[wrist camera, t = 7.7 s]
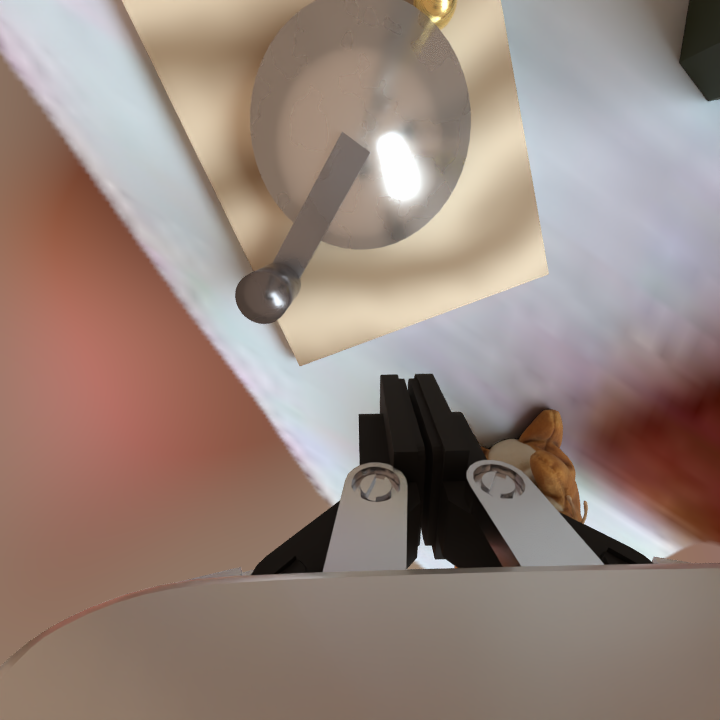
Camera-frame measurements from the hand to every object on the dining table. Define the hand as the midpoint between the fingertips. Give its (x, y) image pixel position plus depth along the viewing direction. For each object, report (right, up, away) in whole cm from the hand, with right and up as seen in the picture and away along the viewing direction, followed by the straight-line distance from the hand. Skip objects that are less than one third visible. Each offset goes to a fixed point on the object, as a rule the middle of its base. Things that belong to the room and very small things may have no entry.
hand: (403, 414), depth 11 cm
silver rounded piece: (-2, +14, +10) cm, 17 cm away
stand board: (-1, +15, +11) cm, 19 cm away
